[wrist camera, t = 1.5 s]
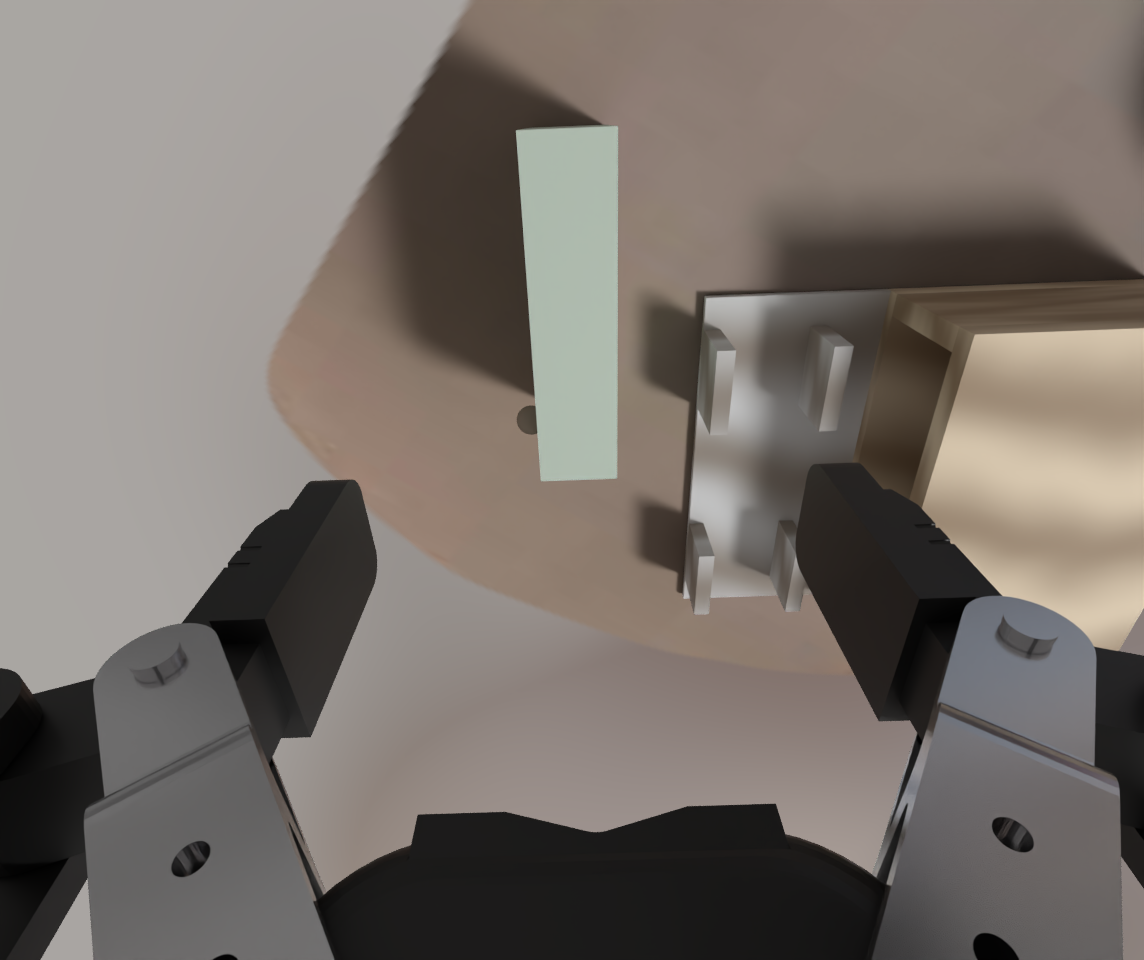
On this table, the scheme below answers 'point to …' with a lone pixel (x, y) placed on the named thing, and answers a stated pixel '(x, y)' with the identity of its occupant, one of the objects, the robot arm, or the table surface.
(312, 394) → the table surface
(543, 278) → the door
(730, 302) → the cabinet
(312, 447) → the table surface
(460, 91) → the table surface
